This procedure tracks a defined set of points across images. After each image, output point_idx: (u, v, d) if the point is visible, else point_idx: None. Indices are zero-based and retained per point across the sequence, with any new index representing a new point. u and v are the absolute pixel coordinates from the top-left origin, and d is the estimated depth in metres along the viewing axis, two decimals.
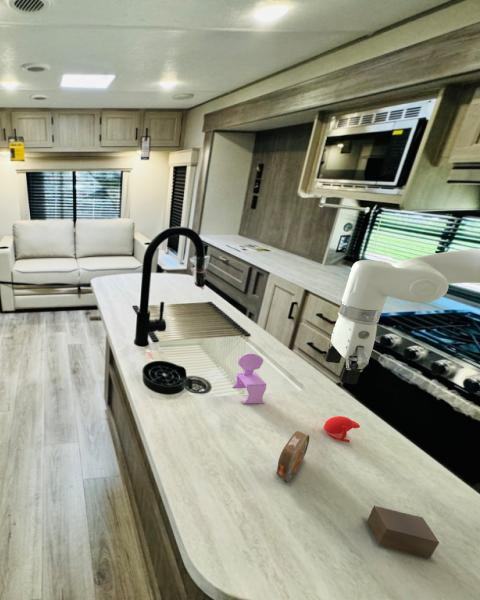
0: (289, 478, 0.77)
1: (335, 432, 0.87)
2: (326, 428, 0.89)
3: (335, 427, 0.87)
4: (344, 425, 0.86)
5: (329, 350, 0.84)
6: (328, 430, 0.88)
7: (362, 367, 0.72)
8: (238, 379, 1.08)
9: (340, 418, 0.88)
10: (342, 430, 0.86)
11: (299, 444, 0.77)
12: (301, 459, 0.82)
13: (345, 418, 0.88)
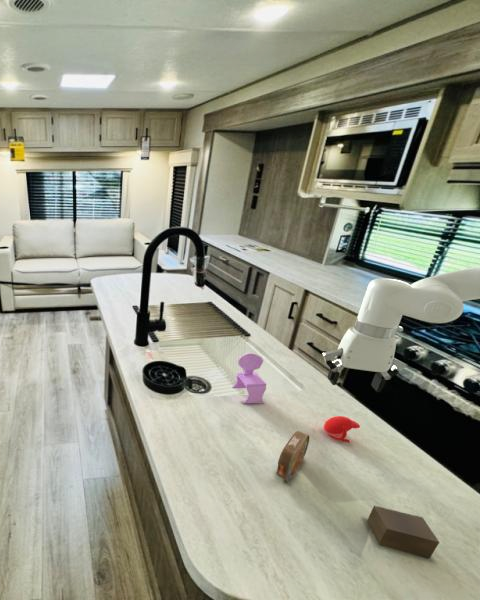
0: (289, 478, 0.77)
1: (335, 432, 0.87)
2: (326, 428, 0.89)
3: (335, 427, 0.87)
4: (344, 425, 0.86)
5: (338, 374, 0.82)
6: (328, 430, 0.88)
7: None
8: (238, 379, 1.08)
9: (340, 418, 0.88)
10: (342, 430, 0.86)
11: (299, 444, 0.77)
12: (301, 459, 0.82)
13: (345, 418, 0.88)
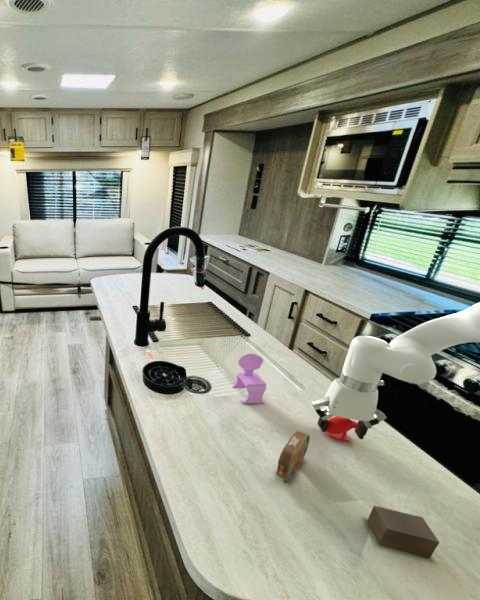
0: (289, 478, 0.77)
1: (335, 432, 0.87)
2: None
3: (335, 427, 0.87)
4: (344, 425, 0.86)
5: (327, 422, 0.88)
6: (328, 430, 0.88)
7: None
8: (238, 379, 1.08)
9: (340, 418, 0.88)
10: (342, 430, 0.86)
11: (299, 444, 0.77)
12: (301, 459, 0.82)
13: (345, 418, 0.88)
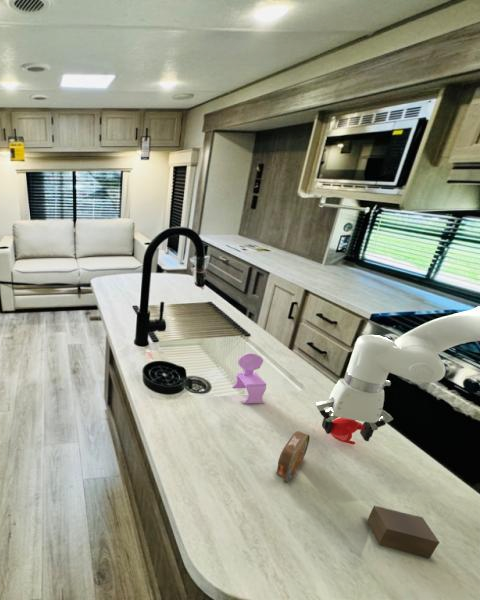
0: (289, 478, 0.77)
1: (340, 434, 0.84)
2: (331, 430, 0.86)
3: (340, 429, 0.85)
4: (349, 426, 0.84)
5: (332, 424, 0.85)
6: (333, 432, 0.86)
7: None
8: (238, 379, 1.08)
9: (345, 419, 0.86)
10: (347, 432, 0.84)
11: (299, 444, 0.77)
12: (301, 459, 0.82)
13: (350, 419, 0.85)
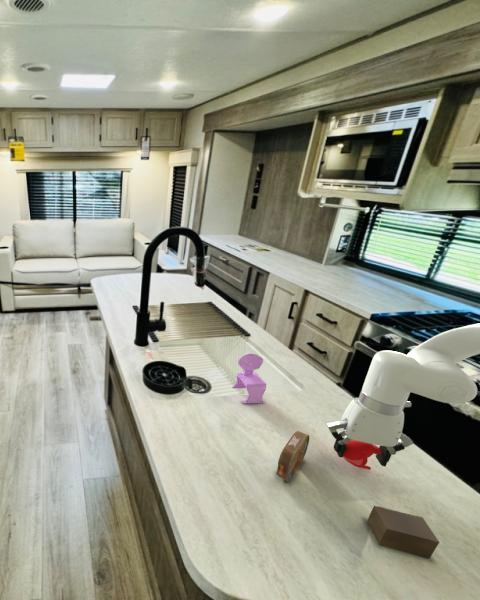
0: (289, 478, 0.77)
1: (354, 458, 0.77)
2: None
3: (354, 452, 0.77)
4: (364, 450, 0.77)
5: (345, 447, 0.78)
6: (346, 455, 0.78)
7: None
8: (238, 379, 1.08)
9: (359, 442, 0.78)
10: (362, 456, 0.76)
11: (299, 444, 0.77)
12: (301, 459, 0.82)
13: None
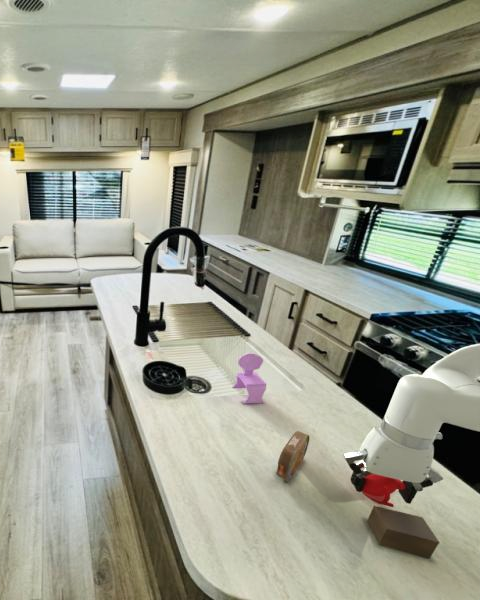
0: (289, 478, 0.77)
1: (375, 494, 0.68)
2: None
3: (375, 487, 0.69)
4: (386, 485, 0.68)
5: (364, 481, 0.69)
6: (365, 490, 0.70)
7: None
8: (238, 379, 1.08)
9: None
10: (384, 492, 0.68)
11: (299, 444, 0.77)
12: (301, 459, 0.82)
13: None
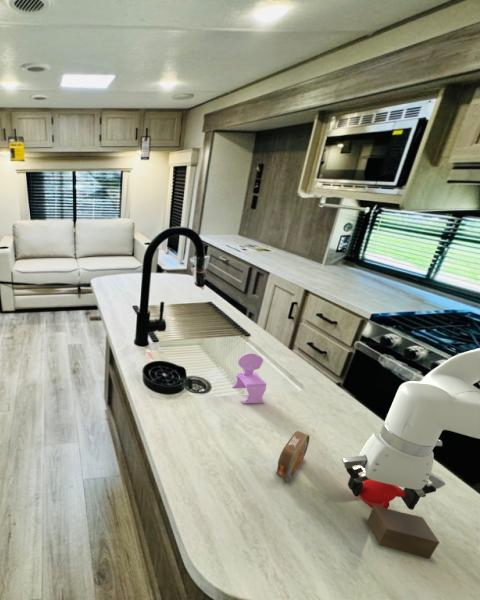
0: (289, 478, 0.77)
1: (374, 501, 0.68)
2: (361, 494, 0.70)
3: (374, 495, 0.68)
4: (386, 492, 0.68)
5: (361, 485, 0.69)
6: (364, 497, 0.69)
7: None
8: (238, 379, 1.08)
9: (380, 482, 0.69)
10: (383, 499, 0.67)
11: (299, 444, 0.77)
12: (301, 459, 0.82)
13: None
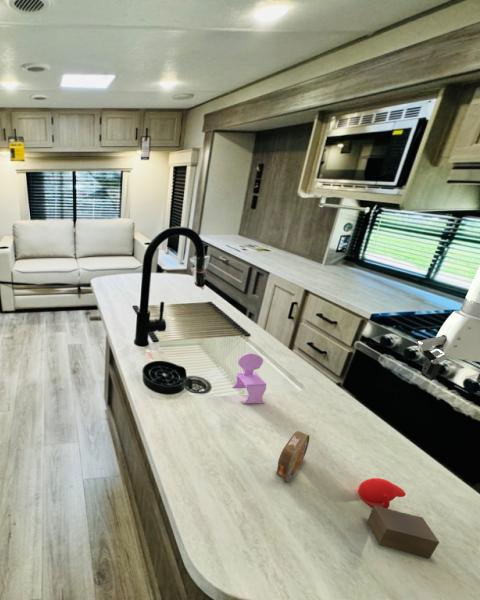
0: (289, 478, 0.77)
1: (374, 501, 0.68)
2: (361, 494, 0.70)
3: (374, 495, 0.68)
4: (386, 492, 0.68)
5: (439, 366, 0.69)
6: (364, 497, 0.69)
7: None
8: (238, 379, 1.08)
9: (380, 482, 0.69)
10: (383, 499, 0.67)
11: (299, 444, 0.77)
12: (301, 459, 0.82)
13: (386, 482, 0.69)
